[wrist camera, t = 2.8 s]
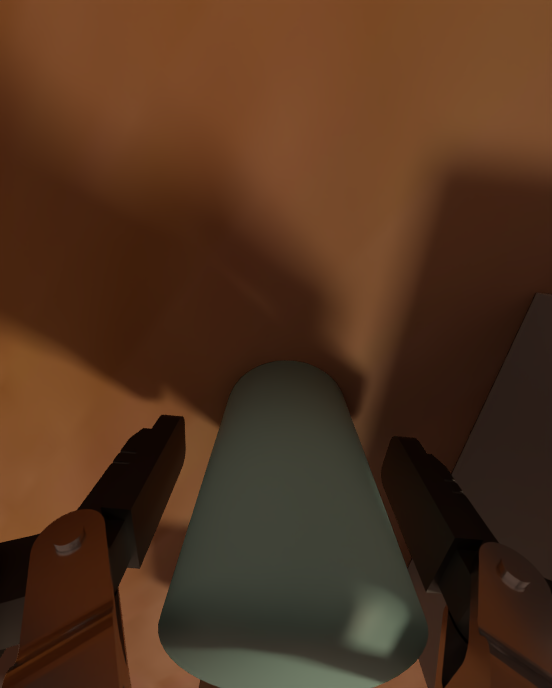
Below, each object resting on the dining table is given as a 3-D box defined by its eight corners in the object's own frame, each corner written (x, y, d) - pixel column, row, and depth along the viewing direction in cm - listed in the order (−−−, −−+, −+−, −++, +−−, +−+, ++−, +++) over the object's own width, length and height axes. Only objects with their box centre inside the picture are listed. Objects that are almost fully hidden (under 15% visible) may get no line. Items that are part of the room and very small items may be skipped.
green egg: (229, 354, 11) (147, 548, 4) (356, 366, 11) (471, 574, 4) (225, 453, 13) (165, 691, 6) (333, 463, 13) (388, 706, 6)
